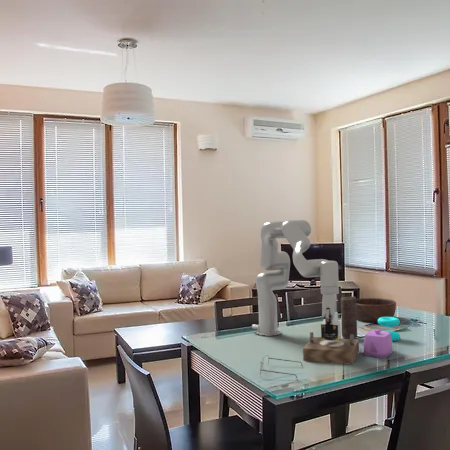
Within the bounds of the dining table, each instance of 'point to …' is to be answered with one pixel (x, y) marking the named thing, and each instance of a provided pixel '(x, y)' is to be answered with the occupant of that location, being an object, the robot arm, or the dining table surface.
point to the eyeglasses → (276, 359)
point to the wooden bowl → (374, 309)
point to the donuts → (390, 323)
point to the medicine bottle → (336, 329)
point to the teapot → (378, 343)
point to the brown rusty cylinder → (348, 317)
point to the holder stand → (331, 350)
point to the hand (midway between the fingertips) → (330, 331)
